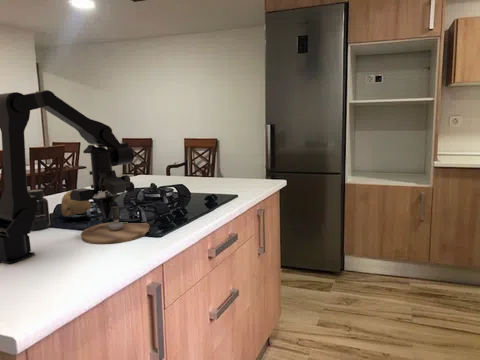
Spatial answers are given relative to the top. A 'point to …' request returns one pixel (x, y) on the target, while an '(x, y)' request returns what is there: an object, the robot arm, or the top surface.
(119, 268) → the top surface
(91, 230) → the round wooden board
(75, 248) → the top surface
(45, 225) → the supplement bottle
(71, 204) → the natural sponge
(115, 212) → the multicoloured piece
